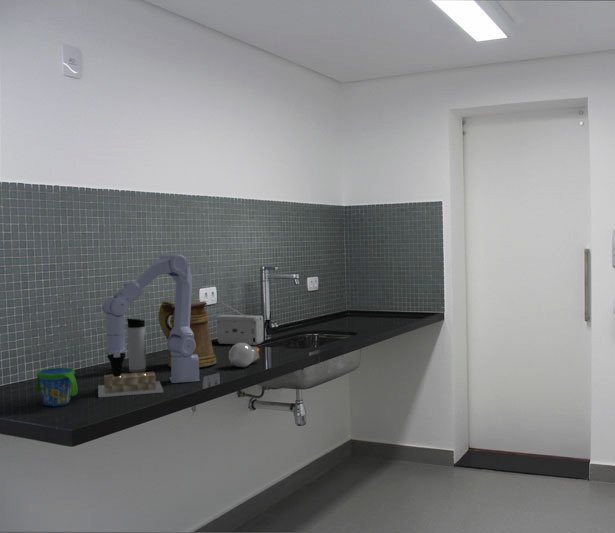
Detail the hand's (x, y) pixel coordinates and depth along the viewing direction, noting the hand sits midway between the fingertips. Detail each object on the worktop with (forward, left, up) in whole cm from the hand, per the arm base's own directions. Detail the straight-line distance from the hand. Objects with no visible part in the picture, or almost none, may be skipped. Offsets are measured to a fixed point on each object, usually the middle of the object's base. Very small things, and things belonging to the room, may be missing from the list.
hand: (116, 376), depth 234 cm
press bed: (-4, 0, -5) cm, 6 cm away
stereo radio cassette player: (-57, -86, -5) cm, 103 cm away
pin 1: (0, 0, -4) cm, 4 cm away
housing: (-4, 0, -5) cm, 6 cm away
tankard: (-27, -40, -5) cm, 49 cm away
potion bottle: (-48, -30, -5) cm, 57 cm away
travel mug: (-8, -34, -5) cm, 35 cm away
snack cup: (+18, +12, -5) cm, 22 cm away
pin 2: (-8, 0, -3) cm, 9 cm away
